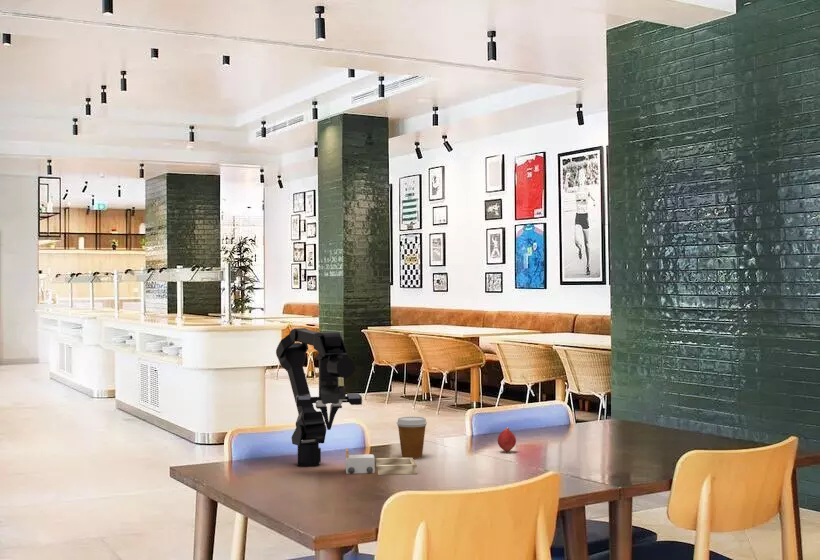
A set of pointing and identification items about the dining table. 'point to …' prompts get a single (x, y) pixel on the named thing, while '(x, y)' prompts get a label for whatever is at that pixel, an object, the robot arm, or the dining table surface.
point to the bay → (396, 466)
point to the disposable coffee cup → (411, 436)
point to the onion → (506, 440)
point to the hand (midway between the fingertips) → (328, 429)
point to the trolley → (360, 463)
